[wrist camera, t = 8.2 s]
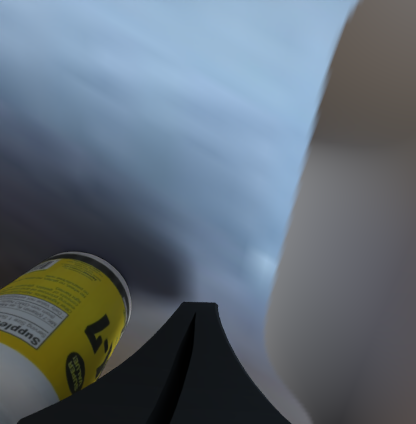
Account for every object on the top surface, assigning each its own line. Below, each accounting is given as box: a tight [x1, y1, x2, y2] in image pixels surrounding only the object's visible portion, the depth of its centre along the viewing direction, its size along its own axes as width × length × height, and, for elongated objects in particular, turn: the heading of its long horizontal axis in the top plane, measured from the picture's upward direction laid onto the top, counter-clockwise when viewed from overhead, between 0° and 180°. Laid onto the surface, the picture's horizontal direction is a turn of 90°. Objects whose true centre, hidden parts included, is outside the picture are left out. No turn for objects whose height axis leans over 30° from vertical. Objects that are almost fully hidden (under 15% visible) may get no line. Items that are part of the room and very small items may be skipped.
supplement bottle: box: [0, 252, 131, 424], centre depth 10 cm, size 5×5×8 cm
